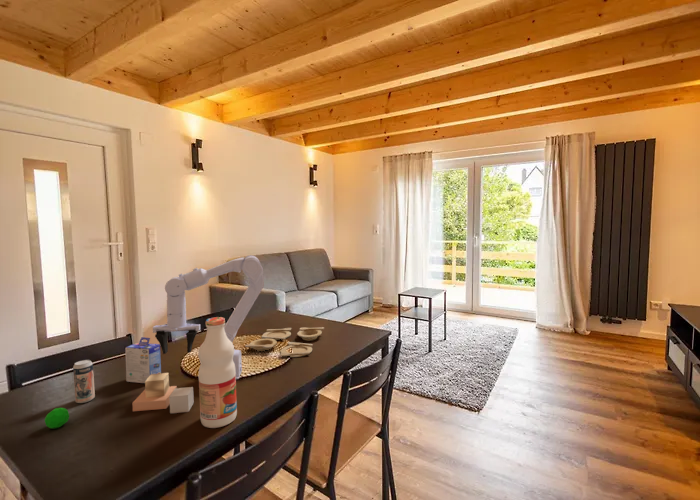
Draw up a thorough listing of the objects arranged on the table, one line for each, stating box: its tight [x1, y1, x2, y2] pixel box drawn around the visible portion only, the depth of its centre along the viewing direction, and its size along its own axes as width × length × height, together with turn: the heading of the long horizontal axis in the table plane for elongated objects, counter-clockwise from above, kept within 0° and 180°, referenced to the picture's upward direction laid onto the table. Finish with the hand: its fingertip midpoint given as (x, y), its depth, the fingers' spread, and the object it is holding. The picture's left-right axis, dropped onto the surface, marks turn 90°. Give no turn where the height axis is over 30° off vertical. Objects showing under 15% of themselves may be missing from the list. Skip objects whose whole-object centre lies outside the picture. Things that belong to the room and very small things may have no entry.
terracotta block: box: [131, 385, 178, 412], centre depth 103 cm, size 9×9×3 cm
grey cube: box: [169, 386, 195, 414], centre depth 99 cm, size 5×5×5 cm
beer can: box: [72, 359, 96, 404], centre depth 104 cm, size 5×5×12 cm
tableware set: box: [244, 326, 325, 358], centre depth 153 cm, size 35×29×4 cm
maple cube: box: [144, 372, 170, 398], centre depth 103 cm, size 5×5×5 cm
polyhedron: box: [44, 407, 70, 430], centre depth 91 cm, size 5×5×5 cm
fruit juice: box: [197, 316, 238, 429], centre depth 93 cm, size 9×9×28 cm
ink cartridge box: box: [124, 336, 162, 384], centre depth 118 cm, size 10×6×14 cm, turn 78°
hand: (177, 352), depth 115 cm, fingers open, 7 cm apart
